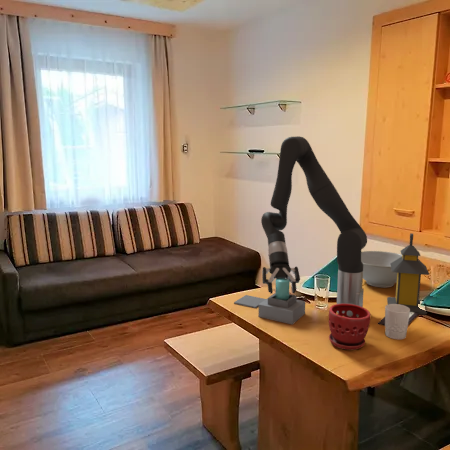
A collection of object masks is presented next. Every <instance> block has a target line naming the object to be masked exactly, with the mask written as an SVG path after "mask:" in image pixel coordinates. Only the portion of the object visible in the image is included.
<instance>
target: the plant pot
mask: <svg viewBox="0 0 450 450" xmlns="http://www.w3.org/2000/svg"><path fill="white" fill-rule="evenodd" d="M337 311H339V313H337ZM342 311H345V313H342ZM347 311H352V313H353V315H352V316H348V315H347ZM357 314H358V315H359V316H358V317H357V316H356V315H357ZM370 324H371V312H370V311H369V310H368V309H367V308H365V307H361V306H358V305H353V304H337V303H336V304H333V305H331V306H330V307H329V311H328V326H329V331H330V334H329V336H328V340H329V341H330V343H331V344H332V345H333V346H335V347H337V348H338V349H342V350H348V351H353V350H359V349H361V348H363V347H365V346H364V345H365V344H366V340H365V339H366V336H367V334H368V332H369V328H370Z"/></svg>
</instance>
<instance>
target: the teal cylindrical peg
mask: <svg viewBox="0 0 450 450" xmlns="http://www.w3.org/2000/svg"><path fill="white" fill-rule="evenodd" d="M290 283H291V282H290V280H289V279H286V278H279V279H276V278H275V299H280V300H285V301H287V300H288V299H289V294H290Z"/></svg>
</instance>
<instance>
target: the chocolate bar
mask: <svg viewBox="0 0 450 450" xmlns="http://www.w3.org/2000/svg"><path fill="white" fill-rule="evenodd" d="M418 316H419V314H418V313H414V312H410V313H409V321H408V326H409V325H410V324H411V323H412V322H413V321H414V320H415V319H416V318H417V317H418ZM377 325H378V326H379V325H380V326H384V327H385V316H384V317H382V319H380V320H379V321H378V322H377Z"/></svg>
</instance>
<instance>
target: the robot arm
mask: <svg viewBox="0 0 450 450" xmlns="http://www.w3.org/2000/svg"><path fill="white" fill-rule="evenodd" d="M279 151H280V152H279V161H278V167H277V174H276V176H277V177H276V181H275V184H274V187H273V188H274V189H273V192H272V195H271V200H270V207H272V208H273V209H275V210H278V213H277V212H272V211H265V212H264V213H263V214H262V216H261V222H260V223H261V227H262V229H263V231H264V233H265V236H266V238H267V246H268V248H267V251H268V259H269V260H268V261H269V268H267V267H265V266H263V267H262V270H261V273H262V279H261V280H262V284H265V285H267V292H269V293H270V295H271V294H272V295H273V294H274V293H273V291H274V290H273V289H274V288H273V282H274V281H275V280H276V279H279V278H285V279H289V280H290V282H289V283H290V284H291V285H290V286H291V292H292V294H296V292H297V289H298V288H297V284H299V283H300V280H301V276H300V273H299V272H300V270H299V268H298V266H295V267H291V266H290V261H289V256H288V255H289V254H288V248H287V244H286V238H285V237H286V236H285V233H284V232H283V231H284V230H285V228H286V227H287V224H288V206H289V201H290V198H291V194H292V190H293V189H292V187H293V185H292V184H293V181H292V179H293V171H294V169H295V168H294V167H295V165H296V164H297V163H298V165H299V166H300V169H301V170H302V171H303V173H304V176H305V179H306V180H305V181H306V185H307V189H308V193H310V196H311V197H312V199H313V201H314V202H315V204H316V206H317V207H318V208H319V209H320V210H321V211H322V212H323V213H325V215H326V216H327V217H329V219H331V220H332V221H333V223H334V224H335V225H336V227H337V229H338V230H339V232H340V234H339V235H338V237H337V241H336V263H337V265H338V266H337V268H338V269H337V270H338V271H337V285H336V286H337V291H336V304H353V305H358V306H361V307H363V306H364V292H365V291H364V290H365V289H364V288H363V281H364V279H363V263H362V262H361V252H362V250H364V249H365V247H366V246H367V243H368V236H367V233H366V232H365V230H364V229H363V228H362V227H361V225H360V224H359V223H358V222H357V220H356V219H355V218H354V216H353V215H352V213H351V212H350V210H349V209H348V207H347V205H346V204H345V202H344V201H343V199H342V197H341V195H340V193H339V192H338V190H337V188H336V187H335V185H334V183H333V182H332V181H331V179H330V178H329V177H328V174H327V173H326V172H325V170H324V169H323V166H322V165H321V164H320V162H319V161H318V159H317V157H316V155H315V152H314V151H313V149H312V146H311V144H310V143H309V141H308V139H306V138H305V137H304V136H288V137H287V138H285V139H284V140H283V141H282V143H281V145H280V150H279ZM282 230H283V231H282ZM291 272H292V273H291ZM268 273H270V274H271V275H270V277H269V278H267V275H268ZM292 274H294V277H293V275H292ZM363 308H364V307H363ZM338 313H339V311H337V312H336V314H338ZM342 313H345V311H342ZM347 315H348V316H350V317H351V316H352V315H353V313H352V311H347ZM356 316H357V317H359V315H358V314H357V315H356Z"/></svg>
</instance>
